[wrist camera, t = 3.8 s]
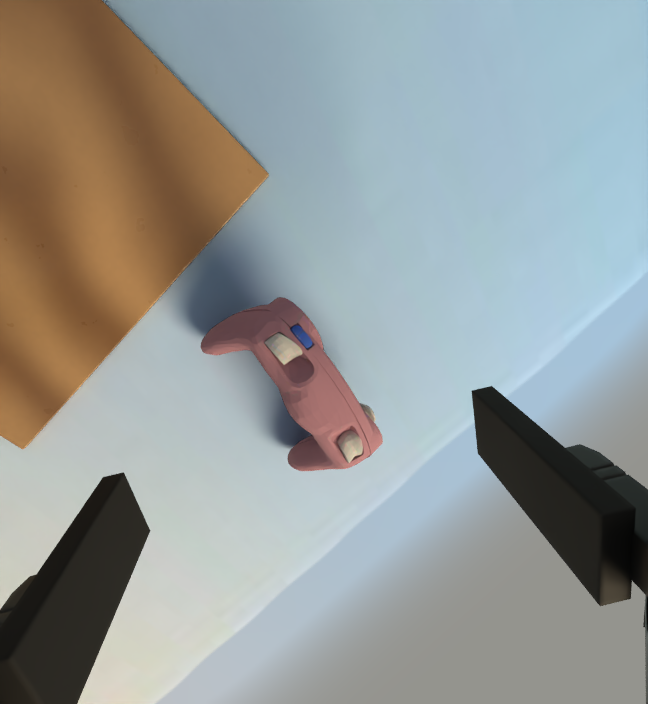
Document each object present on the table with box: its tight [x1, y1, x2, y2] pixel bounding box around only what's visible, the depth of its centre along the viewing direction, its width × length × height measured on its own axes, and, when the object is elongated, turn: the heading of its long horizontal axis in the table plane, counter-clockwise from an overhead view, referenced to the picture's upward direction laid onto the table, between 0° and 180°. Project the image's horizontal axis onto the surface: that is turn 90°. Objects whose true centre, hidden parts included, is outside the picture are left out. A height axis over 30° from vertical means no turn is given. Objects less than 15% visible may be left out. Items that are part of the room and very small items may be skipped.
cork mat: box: [0, 0, 269, 449], centre depth 20 cm, size 20×12×1 cm, turn 135°
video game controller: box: [201, 297, 383, 471], centre depth 21 cm, size 10×5×7 cm, turn 31°
